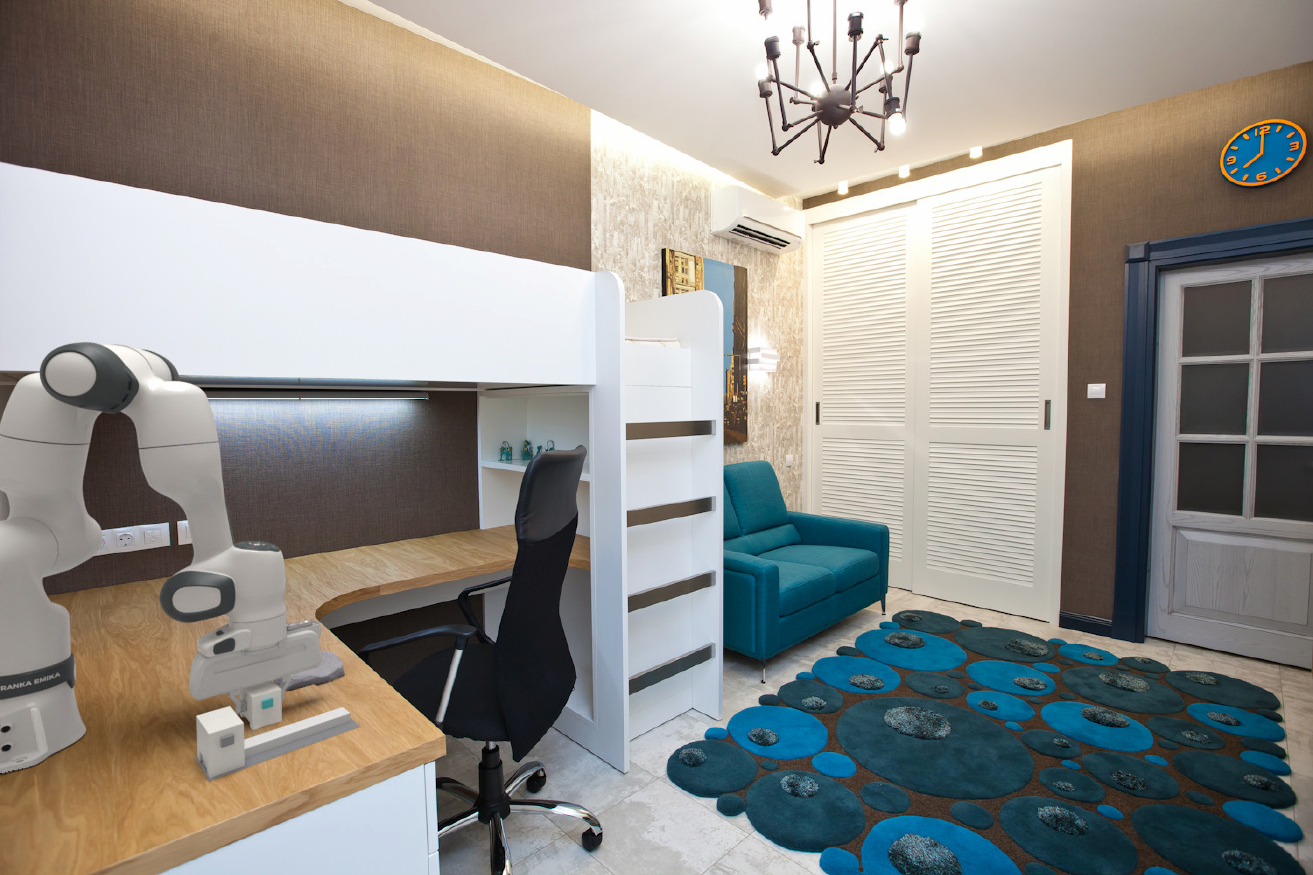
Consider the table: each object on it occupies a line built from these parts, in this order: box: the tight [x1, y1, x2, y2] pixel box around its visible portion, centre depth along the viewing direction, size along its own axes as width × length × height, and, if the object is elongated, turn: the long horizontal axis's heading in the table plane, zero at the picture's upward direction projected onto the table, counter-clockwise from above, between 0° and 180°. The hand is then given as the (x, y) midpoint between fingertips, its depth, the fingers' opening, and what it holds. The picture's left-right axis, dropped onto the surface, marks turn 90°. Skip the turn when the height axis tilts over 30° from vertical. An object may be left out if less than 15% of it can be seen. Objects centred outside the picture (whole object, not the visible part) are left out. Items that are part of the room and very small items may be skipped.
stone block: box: [273, 650, 345, 691], centre depth 130 cm, size 12×5×10 cm
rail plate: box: [193, 706, 361, 782], centre depth 103 cm, size 22×10×2 cm, turn 137°
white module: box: [238, 680, 283, 731], centre depth 110 cm, size 4×9×7 cm, turn 47°
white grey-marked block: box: [195, 705, 245, 778], centre depth 96 cm, size 4×9×7 cm, turn 47°
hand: (260, 705), depth 111 cm, fingers closed on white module, 4 cm apart
